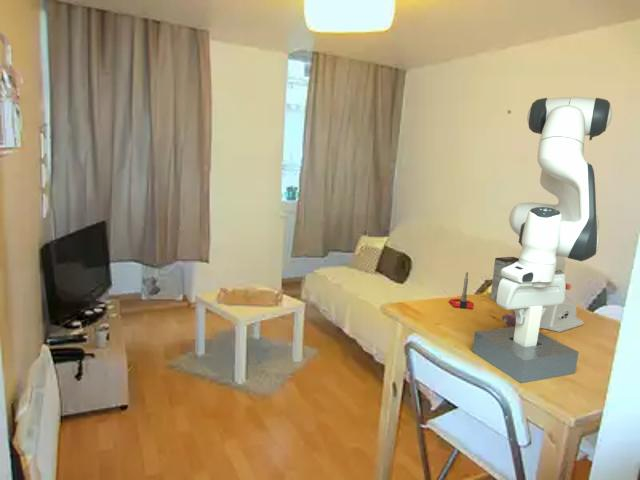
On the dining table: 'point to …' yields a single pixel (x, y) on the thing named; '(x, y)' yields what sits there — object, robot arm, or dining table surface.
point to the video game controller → (509, 319)
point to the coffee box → (497, 277)
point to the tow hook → (463, 298)
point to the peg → (528, 327)
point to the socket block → (524, 355)
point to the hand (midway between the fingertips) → (527, 322)
